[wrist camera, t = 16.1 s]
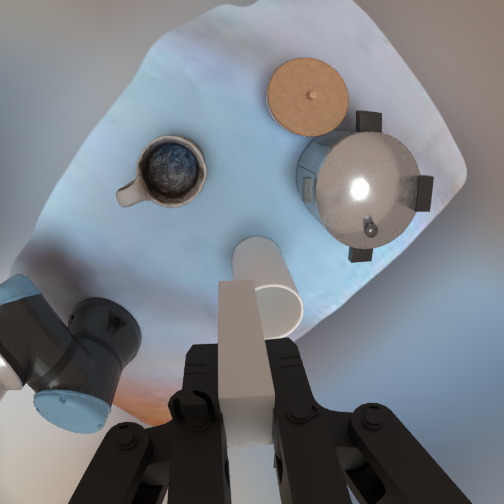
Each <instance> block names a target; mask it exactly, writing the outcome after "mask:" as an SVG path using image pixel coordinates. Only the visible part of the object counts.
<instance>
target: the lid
mask: <svg viewBox="0 0 504 504" xmlns="http://www.w3.org/2000/svg"><path fill="white" fill-rule="evenodd" d="M433 179H434V177H433V176H428V175H420V172H419V169H418V165H417V163H416V161H415V159H414V157H413V155H412V154H411V152H410V151H409V150H408V149H407V147H406V146H405V145H404V144H402V143H401V142H400V141H399V140H397V139H396V138H394V137H392V136H390V135H387V134H384V133H379V132H358V133H355V134H352V135H349V136H347V137H345V138H343V139H342V140H340V141H339V142H338V143H336V144H335V145H334V146H333V147H332V148H331V149H330V150H329V151H328V153H327V154H326V155H325V157H324V158H323V160H322V162H321V164H320V166H319V168H318V171H317V174H316V179H315V184H314V200H315V206H316V210H317V213H318V216H319V218H320V220H321V222H322V223H323V225H324V226H325V228H326V229H327V230H328V231H329V232H330V234H331V235H333V236H334V237H335V238H336V239H337V240H339V241H340V242H342V243H343V244H345V245H348V246H350V247H354V248H359V249H371V248H377V247H380V246H383V245H385V244H388V243H389V242H391V241H393V240H394V239H396V238H397V237H398V236H399V235H400V234H402V233H403V232H404V230H405V229H406V228H407V227H408V226H409V224H410V223H411V221H412V219H413V218H414V216H415V214H416V212H430V206H431V198H432V189H433Z"/></svg>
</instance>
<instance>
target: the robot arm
mask: <svg viewBox="0 0 504 504" xmlns="http://www.w3.org/2000/svg"><path fill="white" fill-rule="evenodd" d="M140 343H141V332H140V329H139V326H138V324H137V322H136V321H135V319H134V318H133V317H132V316H131V314H130V313H129V312H128V311H126V310H125V309H124V308H123V307H121V306H120V305H118V304H116V303H114V302H112V301H109V300H106V299H101V298H91V299H86V300H84V301H82V302H80V303H79V304H78V305H77V306H76V307H75V309H74V310H73V312H72V314H71V316H70V318H69V323H68V328H67V327H66V325H65V324H64V323H63V322H62V320H61V319H60V318H59V317H58V315H57V314H56V313H55V312H54V310H53V309H52V308H51V306H50V305H49V304H48V302H47V301H46V300H45V298H44V297H43V296H42V293H41V292H40V291H38V289H37V288H36V287H35V286H34V284H33V283H32V282H31V280H30V279H29V278H28V277H27V276H26V275H23V274H17V275H15V276H13V277H11V278H9V279H8V280H6V281H5V282H3V283H2V284H0V400H1V399H2V397H3V396H4V395H5V393H6V391H8V390H21V389H22V388H23V386H24V385H25V384H26V383H27V384H28V385H29V386H30V387H31V388H32V389H33V390H34V391H35V392H36V393H35V395H34V406H35V407H36V410H37V411H38V413H39V414H40V415H41V416H42V417H44V418H45V419H46V420H47V421H49V422H51V423H52V424H54V425H56V426H58V427H60V428H62V429H65V430H68V431H72V432H75V433H81V434H90V433H95V432H97V431H99V430H101V429H102V428H103V427H104V425H105V423H106V420H107V418H108V415H109V414H110V412H111V405H112V402H113V398H114V395H115V392H116V388H117V385H118V382H119V379H120V375H121V372H122V370H123V369H124V368H125V367H126V365H127V364H128V363H129V362H130V361H131V360H132V359H133V358H134V357H135V356H136V354H137V352H138V350H139V347H140ZM168 407H169V410H170V413H171V416H172V418H173V419H172V420H171V421H169V422H167V423H165V424H163V425H160V426H155V427H151V428H147V429H144V428H143V427H142V426H141V425H139V424H137V423H134V422H123V423H118V424H117V425H115V426H113V427H112V428H111V429H110V430H109V431H108V432H107V434H106V435H105V437H104V439H103V441H102V442H101V444H100V446H99V448H98V449H97V451H96V453H95V455H94V457H93V459H92V460H91V462H90V464H89V466H88V468H87V470H86V471H85V473H84V475H83V477H82V479H81V480H80V482H79V484H78V486H77V488H76V490H75V492H74V494H73V495H72V498H71V499H70V501H69V503H68V504H162V502H163V499H164V497H165V494H166V491H167V489H168V502H167V504H231V490H230V477H229V476H230V474H229V461H228V456H227V447H243V446H244V447H245V446H257V445H268V444H273V443H274V450H275V455H274V456H275V457H274V468H276V472H277V478H278V484H279V490H280V497H281V502H282V504H352V501H351V498H350V495H349V491H348V488H347V485H348V487H349V488H350V490H351V491H352V493H353V494H354V496H355V497H356V499H357V500H358V502H359V503H360V504H472V503H471V502H470V500H469V499H468V498H467V497H466V496H465V495H464V494H463V493H462V491H461V490H460V489H459V488H458V487H457V486H456V484H455V483H454V482H453V481H452V480H451V479H450V478H449V477H448V476H447V474H446V473H445V472H444V471H443V470H442V468H441V467H440V466H439V465H438V464H437V463H436V461H435V460H434V459H433V458H432V457H431V456H430V455H429V454H428V452H427V451H426V450H425V449H424V448H423V447H422V446H421V444H420V443H419V442H418V441H417V440H416V439H415V437H414V436H413V435H412V434H411V433H410V432H409V431H408V429H407V428H406V427H405V426H404V425H403V424H402V423H401V421H400V420H399V419H398V418H397V417H396V416H395V415H394V413H393V412H392V411H391V410H390V409H388V408H387V407H386V406H384V405H381V404H378V403H367V404H363V405H361V406H359V407H358V408H356V409H355V411H354V412H353V413H351V412H350V413H349V412H337V411H331V410H328V409H326V408H324V407H322V406H321V405H319V404H318V403H317V402H316V401H315V399H314V397H313V395H312V392H311V388H310V385H309V382H308V379H307V375H306V373H305V369H304V366H303V363H302V360H301V358H300V353H299V350H298V347H297V345H296V344H295V343H294V342H293V341H292V340H291V339H290V338H289V337H288V338H278V339H266V340H264V335H263V329H262V324H261V319H260V314H259V309H258V303H257V298H256V293H255V288H254V282H253V279H252V280H236V281H219V299H218V344H196V345H192V347H191V348H190V349H189V351H188V352H187V354H186V360H185V368H184V377H183V386H182V390H179V391H177V392H176V393H175V394H174V395H173V396H172V397H171V398H170V400H169V403H168ZM346 484H347V485H346Z"/></svg>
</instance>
